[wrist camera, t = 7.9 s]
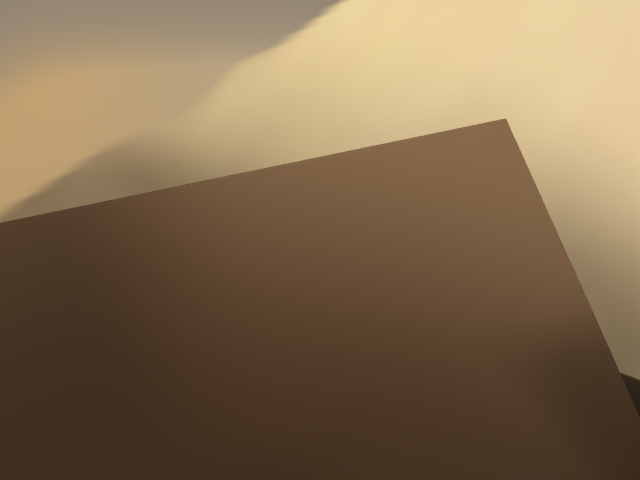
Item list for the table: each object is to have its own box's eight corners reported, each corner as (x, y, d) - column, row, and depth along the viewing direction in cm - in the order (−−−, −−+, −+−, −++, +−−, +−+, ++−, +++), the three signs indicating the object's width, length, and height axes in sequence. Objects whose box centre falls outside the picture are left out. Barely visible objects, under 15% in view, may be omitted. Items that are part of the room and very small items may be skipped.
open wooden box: (459, 558, 13) (876, 943, 3) (230, 617, 13) (-182, 1271, 3) (395, 333, 16) (505, 118, 5) (201, 377, 15) (-74, 238, 5)
